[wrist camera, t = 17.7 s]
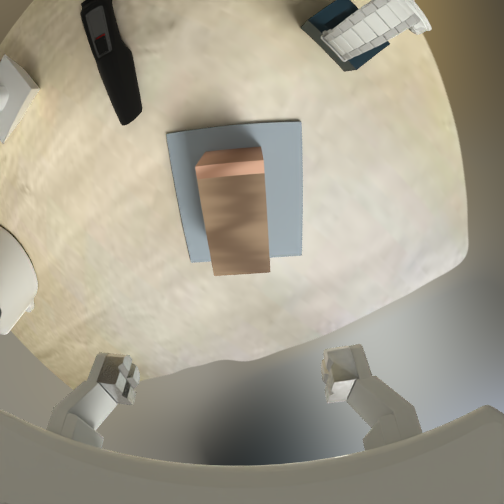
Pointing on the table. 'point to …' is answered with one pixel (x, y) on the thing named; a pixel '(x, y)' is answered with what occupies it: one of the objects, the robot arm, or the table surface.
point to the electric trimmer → (112, 58)
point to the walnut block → (235, 210)
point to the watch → (362, 28)
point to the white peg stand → (14, 95)
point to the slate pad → (276, 180)
